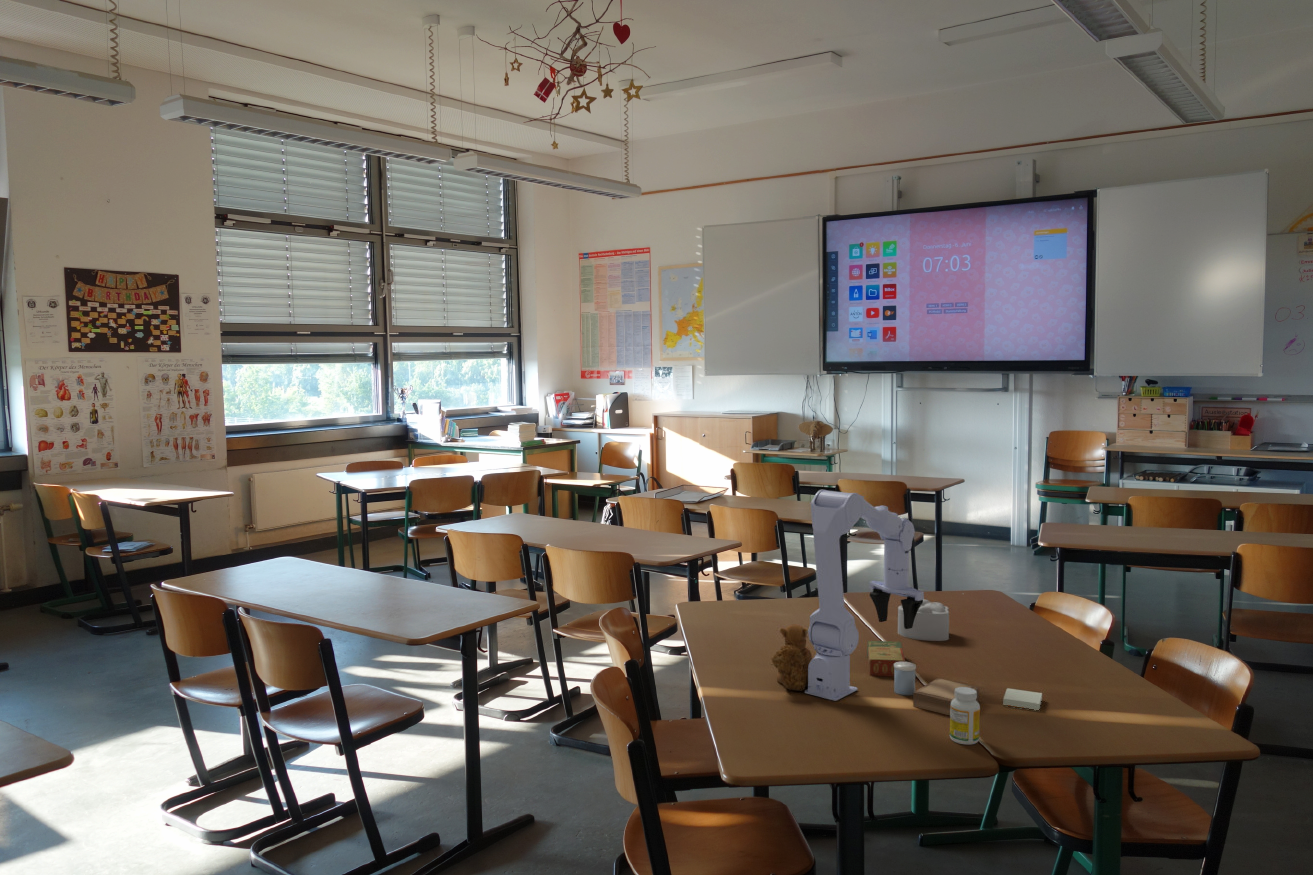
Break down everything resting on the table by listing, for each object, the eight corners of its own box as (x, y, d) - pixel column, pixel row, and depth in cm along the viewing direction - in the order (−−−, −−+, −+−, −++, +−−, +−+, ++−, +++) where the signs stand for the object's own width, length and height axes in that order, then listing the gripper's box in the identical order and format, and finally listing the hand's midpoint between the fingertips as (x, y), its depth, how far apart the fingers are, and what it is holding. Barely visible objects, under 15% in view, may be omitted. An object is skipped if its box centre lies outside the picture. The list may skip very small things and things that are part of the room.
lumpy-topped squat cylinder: (949, 641, 241) (949, 609, 240) (897, 638, 245) (897, 605, 244) (947, 631, 251) (948, 599, 250) (898, 627, 255) (898, 596, 254)
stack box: (954, 716, 189) (954, 701, 189) (913, 706, 195) (913, 691, 195) (978, 700, 198) (978, 686, 198) (938, 691, 204) (938, 677, 204)
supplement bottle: (956, 745, 174) (957, 695, 174) (945, 734, 180) (945, 686, 179) (984, 744, 175) (985, 694, 174) (971, 733, 180) (972, 685, 179)
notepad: (1039, 713, 192) (1039, 703, 192) (1003, 707, 195) (1003, 698, 195) (1041, 702, 198) (1042, 693, 198) (1006, 697, 201) (1007, 688, 201)
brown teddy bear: (822, 677, 214) (822, 621, 213) (812, 698, 200) (813, 638, 199) (779, 673, 217) (779, 617, 216) (767, 693, 204) (767, 634, 203)
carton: (868, 676, 215) (868, 658, 215) (866, 655, 231) (866, 639, 231) (905, 678, 214) (905, 659, 213) (901, 657, 229) (901, 640, 229)
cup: (909, 696, 200) (909, 669, 200) (889, 692, 204) (889, 665, 203) (919, 691, 204) (919, 664, 204) (899, 686, 207) (900, 660, 207)
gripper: (932, 571, 216) (931, 628, 217) (883, 561, 228) (882, 615, 229) (912, 575, 212) (911, 633, 213) (864, 564, 224) (863, 620, 225)
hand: (895, 624), depth 221 cm, fingers open, 7 cm apart
